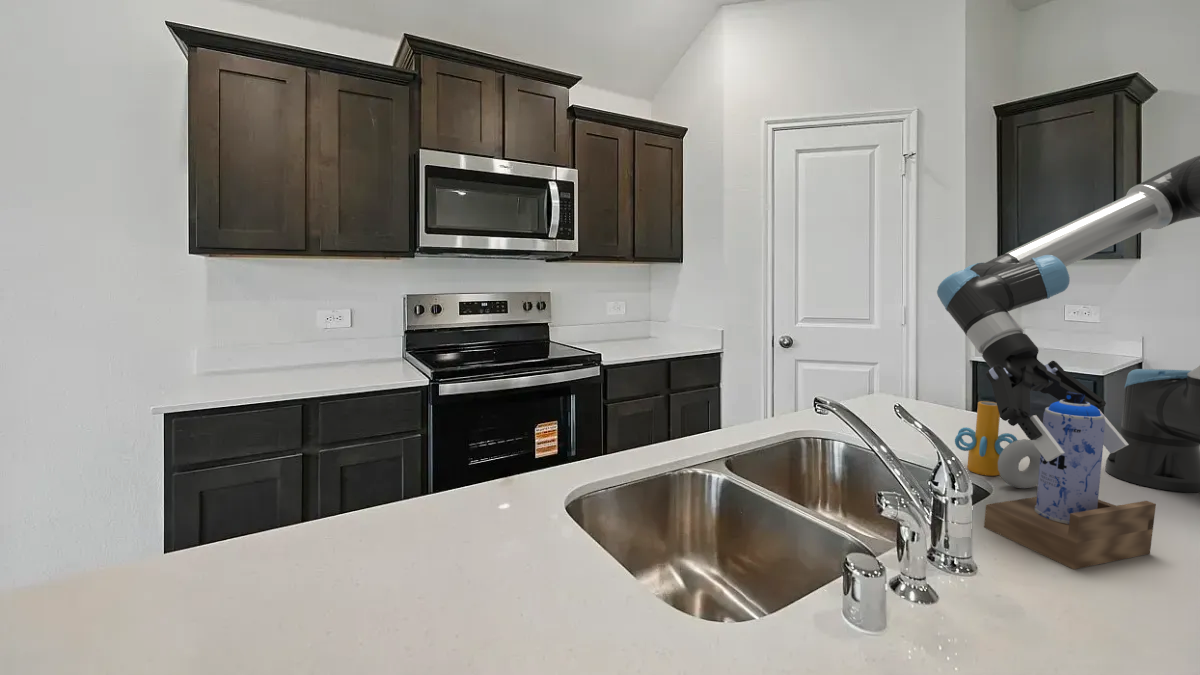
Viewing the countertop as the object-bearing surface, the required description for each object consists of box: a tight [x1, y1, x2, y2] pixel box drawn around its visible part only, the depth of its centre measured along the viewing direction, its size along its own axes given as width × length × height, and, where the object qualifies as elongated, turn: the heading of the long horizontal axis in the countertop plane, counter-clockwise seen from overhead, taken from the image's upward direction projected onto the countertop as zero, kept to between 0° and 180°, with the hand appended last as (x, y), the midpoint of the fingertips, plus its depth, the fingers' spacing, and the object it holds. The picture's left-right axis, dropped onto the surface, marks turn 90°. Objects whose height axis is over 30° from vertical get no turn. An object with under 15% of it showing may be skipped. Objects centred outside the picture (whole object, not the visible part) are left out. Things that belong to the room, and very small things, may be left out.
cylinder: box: [954, 400, 1018, 477], centre depth 119 cm, size 12×10×15 cm
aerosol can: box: [1035, 392, 1105, 524], centre depth 89 cm, size 8×8×20 cm
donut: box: [998, 438, 1041, 489], centre depth 111 cm, size 10×4×10 cm, turn 93°
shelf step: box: [983, 496, 1157, 570], centre depth 90 cm, size 16×14×8 cm
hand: (1088, 453), depth 86 cm, fingers open, 13 cm apart
